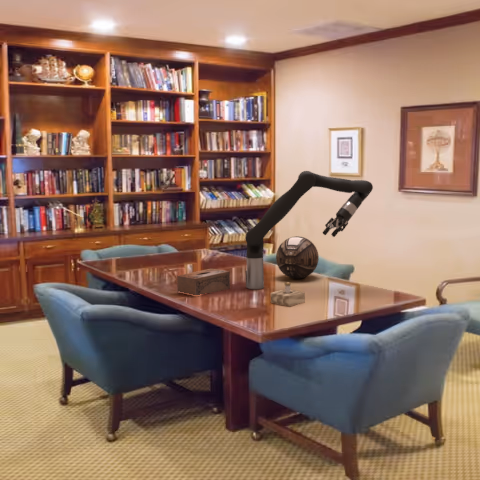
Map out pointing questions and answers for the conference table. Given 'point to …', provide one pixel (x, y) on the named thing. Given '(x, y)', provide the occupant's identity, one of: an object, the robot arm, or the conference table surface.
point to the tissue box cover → (204, 281)
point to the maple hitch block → (287, 297)
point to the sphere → (297, 257)
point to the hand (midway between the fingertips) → (328, 234)
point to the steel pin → (287, 287)
